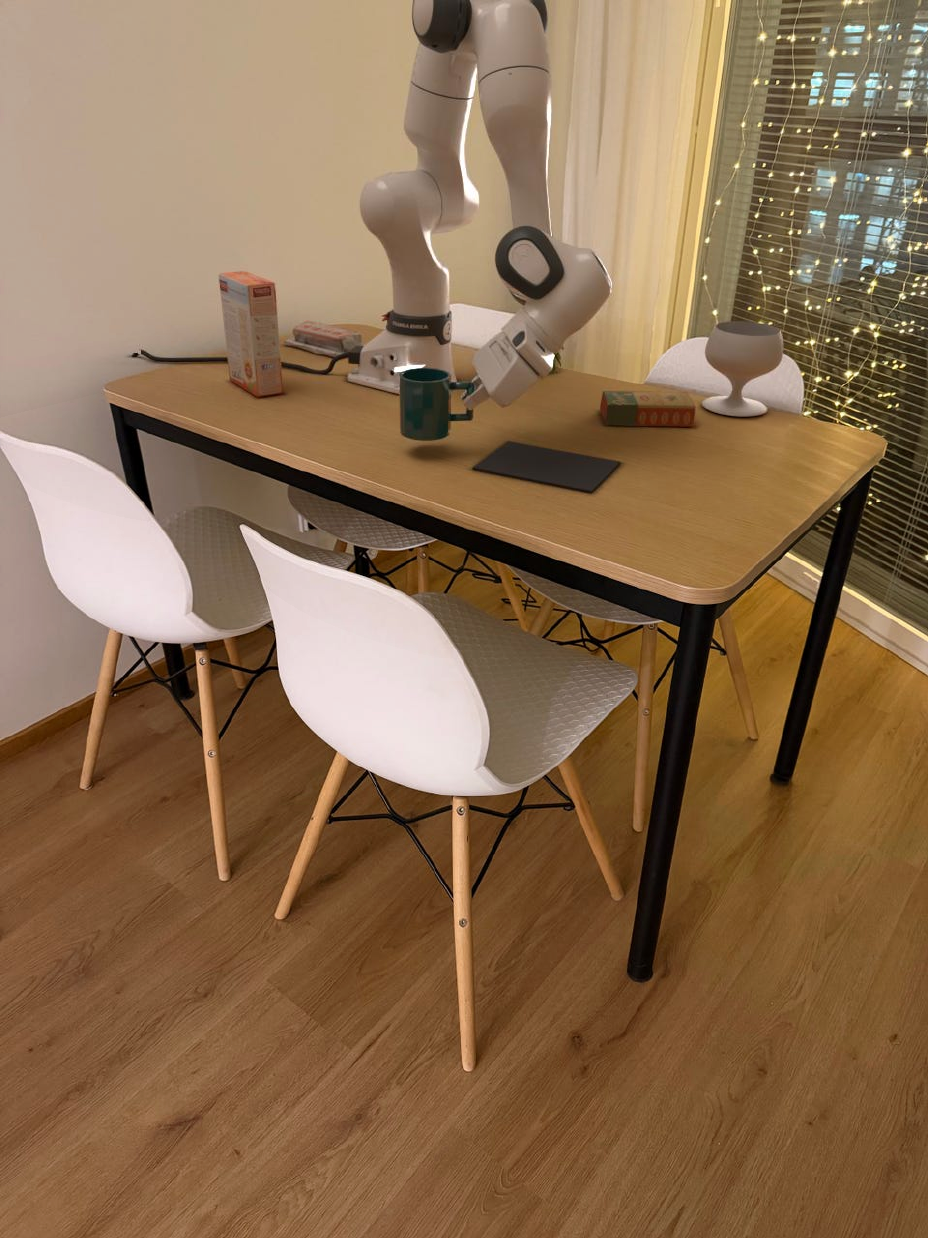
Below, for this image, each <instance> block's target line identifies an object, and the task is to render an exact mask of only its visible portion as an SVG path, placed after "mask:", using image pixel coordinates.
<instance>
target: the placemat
mask: <svg viewBox="0 0 928 1238" xmlns="http://www.w3.org/2000/svg"><path fill="white" fill-rule="evenodd" d="M620 465H621V461H619V460H614V459H607V458H603V457H598V456H592V455H586V454H580V453H575V452H570V451H564V450H559V449H554V448H548V447H543V446H538V445H537V446H536V445H532V444H528V443H527V444H526V443H522V442H521V443H520V442H515V441H510V440H508V441H507V442H505V443H504V444H502V445H501V446H500V447H498V448H497V449H496V450H494V451H493V452H492V453H490V454H489V455H487V456H486V457H485V458H483V459H482V460H481V461H478V462H477V464H475V465H473V466H472V470H473V471H478V472H483V473H488V474H492V475H498V476H503V477H507V478H512V479H518V480H522V481H527V482H533V483H538V484H542V485H548V486H553V487H558V488H562V489H568V490H573V491H577V492H581V493H588V494H593V493H594V491H596V489H597V488H599V486H601V485H602V484H603V482H604V481H606V479H607V478H608V477H610V475H611V474H612V473H613V472H614V471H616V469H617V468H618V467H619V466H620Z"/></svg>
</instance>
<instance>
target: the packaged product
mask: <svg viewBox="0 0 928 1238" xmlns="http://www.w3.org/2000/svg"><path fill="white" fill-rule="evenodd" d="M292 334H293V337H290V338H287V339H284V340H283V344H284V346H288V347H292V348H298V349H301V350H305V351H308V352H311V353H313V354H315V355H323V356H327V357H331V358H334V357H336V356H338V355H340V354H343V353H347V352H349V351H350V350H351V349H353V348H354V347H355V346H365V345H366V344H367V343H366V344H365V343H363V339H362V338H363V336H362V334H361V332H358V331H354V330H349V329H346V328H343V327H338V326H335V325H334V326H333V325H330V324H326V323H321V322H317V321H313V320H305V321H303V322H302V323H300V324H298V325H297V326H295V327H294V328H293V329H292Z"/></svg>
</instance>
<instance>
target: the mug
mask: <svg viewBox="0 0 928 1238" xmlns="http://www.w3.org/2000/svg"><path fill="white" fill-rule="evenodd" d="M465 390H467V394H466V397H467V396H468V395H469V394H470V395H471V394H472V393H473V392H474V383H473V382H471V381H457V382H451V374H450V373H449V372H447V371H445V370H442V369H437V368H412V369H407V370H404V371H402V372H401V373H400V374H399V394H398V395H399V396H398V397H399V399H398V401H399V432H400V435H401V436H402V437H404V438H406V439H409V440H412V441H419V442H433V441H439V440H443V439H445V438H447V437H449V436H450V434H451V429H452V422H472V421H473V419H474V409H473V410H468V409H467V408H466V407H465V413H452V391H465Z"/></svg>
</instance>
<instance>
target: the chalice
mask: <svg viewBox="0 0 928 1238" xmlns="http://www.w3.org/2000/svg"><path fill="white" fill-rule="evenodd" d="M704 356H705V359H706V362H707V363H708V364H709V365H710V366H711V367H712V368H713V369H714V370H715V371H717V372H719V374H721V375H723V376H724V377H725V378H726V379H727V380H728V381H729V383H730V384H731V389H732V390H731V393H730V394H729V395H718V396H717V395H716V396H710V397H707V398H705V399H704V400H702V402H701V405H702V406H703V408H704V409H706V410H708V411H710V412H713V413H717V414H720V415H725V416H731V417H755V416H761V415H764V414H765V413H766V412H768V407H767V406H766V405H765V404H764V403H762V402H760V401H758V400H755V399H752V398H748V397H744V396H743V394H742V393H743V389H744V387H745V386H746V385H747V384H748V383H749V382H750V381H752V380H755V379H757V378H759V377H762V376H764V375H766V374H769V373H771V372H773V371H774V370H775V369H776V368H778V367H779V365H780V364H781V363H782V360H783V357H784V339H783V334H782V331H781V330H780V329H779V328H778V327H777V326H774V325H771V324H767V323H761V322H755V321H744V320H743V321H742V320H734V321H733V320H732V321H724V322H723V321H722V322H719V323H717V324H716V325H714V327H713V328H712V330H711V332H710V334H709V335H708V339H707V342H706V344H705V347H704Z"/></svg>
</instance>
